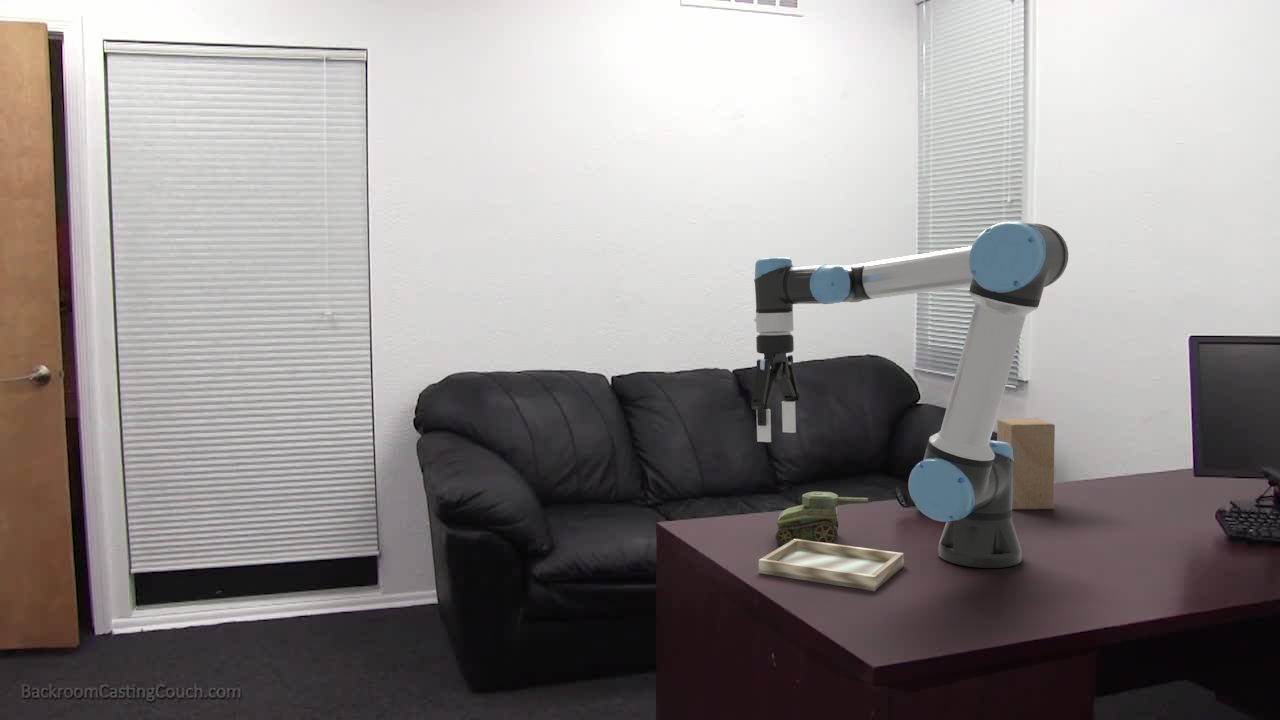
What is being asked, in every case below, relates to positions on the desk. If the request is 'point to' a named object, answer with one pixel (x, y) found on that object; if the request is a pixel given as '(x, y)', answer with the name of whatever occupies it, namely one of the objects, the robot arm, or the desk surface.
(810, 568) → the beige tray
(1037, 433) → the wooden block
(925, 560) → the desk surface
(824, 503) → the toy
